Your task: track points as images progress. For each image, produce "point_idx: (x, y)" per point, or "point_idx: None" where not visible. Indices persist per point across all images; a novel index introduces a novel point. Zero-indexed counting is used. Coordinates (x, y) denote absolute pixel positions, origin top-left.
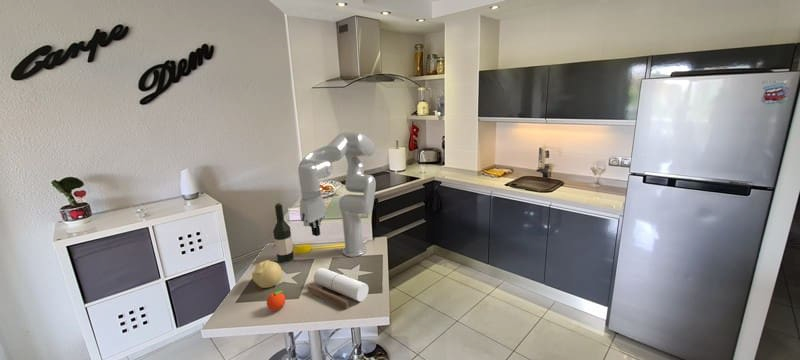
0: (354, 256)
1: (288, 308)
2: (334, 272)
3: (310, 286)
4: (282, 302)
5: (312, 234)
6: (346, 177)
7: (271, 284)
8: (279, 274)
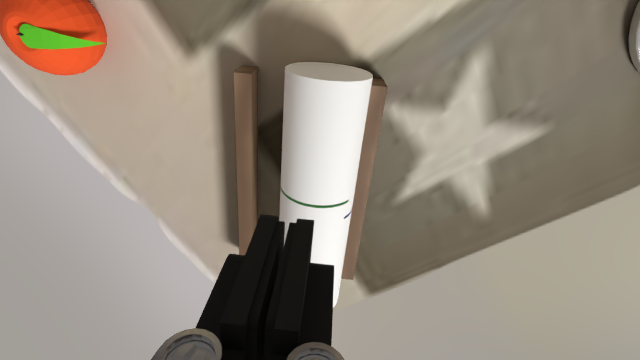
0: (631, 58)
1: (119, 71)
2: (335, 178)
3: (240, 87)
4: (70, 74)
5: (260, 215)
6: None
7: None
8: None
